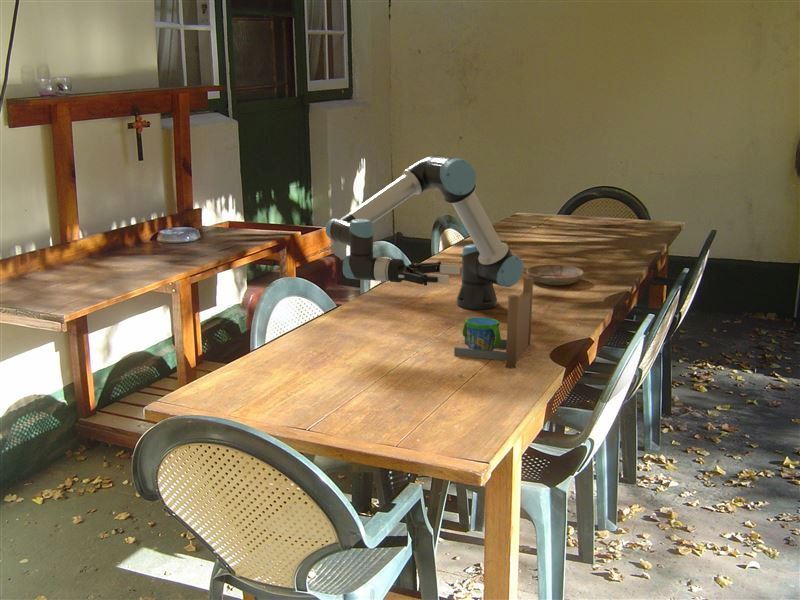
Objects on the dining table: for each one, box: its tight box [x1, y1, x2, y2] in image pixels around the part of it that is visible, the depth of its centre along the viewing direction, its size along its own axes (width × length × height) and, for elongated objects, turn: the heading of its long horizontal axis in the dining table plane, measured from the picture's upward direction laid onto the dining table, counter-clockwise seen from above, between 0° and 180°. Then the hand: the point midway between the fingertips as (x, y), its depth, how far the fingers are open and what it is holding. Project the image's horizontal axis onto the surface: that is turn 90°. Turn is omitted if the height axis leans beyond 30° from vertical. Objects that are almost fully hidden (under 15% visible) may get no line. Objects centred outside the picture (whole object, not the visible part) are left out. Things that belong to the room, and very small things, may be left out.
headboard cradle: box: [453, 276, 534, 369], centre depth 293 cm, size 27×20×22 cm
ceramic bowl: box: [525, 264, 585, 286], centre depth 384 cm, size 23×24×5 cm
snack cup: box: [462, 316, 502, 351], centre depth 293 cm, size 16×10×10 cm
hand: (454, 274), depth 293 cm, fingers open, 13 cm apart
